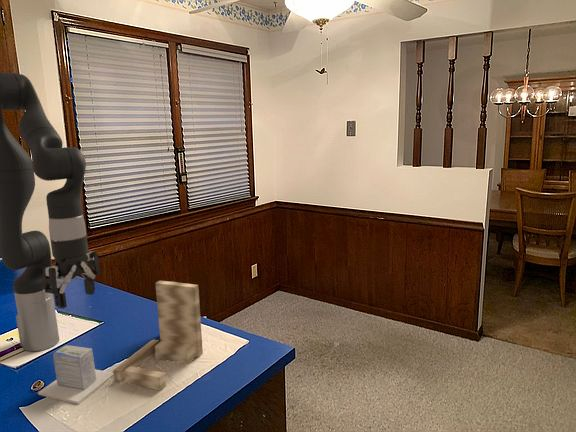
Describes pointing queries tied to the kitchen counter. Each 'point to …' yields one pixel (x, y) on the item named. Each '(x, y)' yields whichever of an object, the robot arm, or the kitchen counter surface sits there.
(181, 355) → the slotted stand
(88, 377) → the medicine box
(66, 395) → the grey mat
